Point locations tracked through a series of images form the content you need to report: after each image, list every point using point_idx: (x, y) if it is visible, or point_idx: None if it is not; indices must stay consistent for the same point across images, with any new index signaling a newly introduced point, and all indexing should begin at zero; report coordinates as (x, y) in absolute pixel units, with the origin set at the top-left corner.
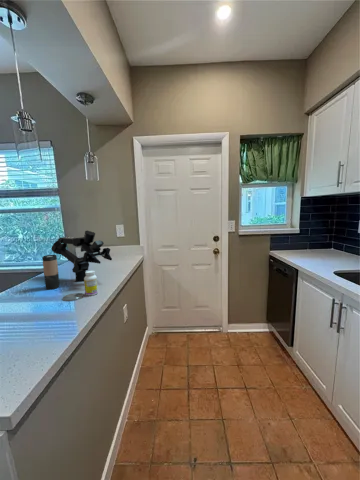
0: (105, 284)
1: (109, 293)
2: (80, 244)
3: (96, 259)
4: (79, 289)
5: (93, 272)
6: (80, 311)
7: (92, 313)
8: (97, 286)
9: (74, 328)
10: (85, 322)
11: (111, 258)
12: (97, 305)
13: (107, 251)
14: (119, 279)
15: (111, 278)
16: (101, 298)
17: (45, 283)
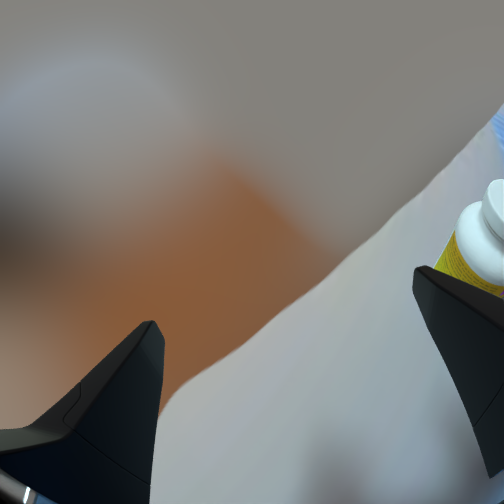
0: (303, 410)
1: (378, 235)
2: None
3: (486, 291)
4: (470, 440)
5: (492, 183)
6: (498, 176)
7: (468, 146)
8: (437, 259)
9: (498, 129)
10: (481, 130)
11: (140, 327)
12: (453, 172)
13: (6, 441)
14: (164, 416)
15: (176, 489)
16: (429, 211)
17: None
